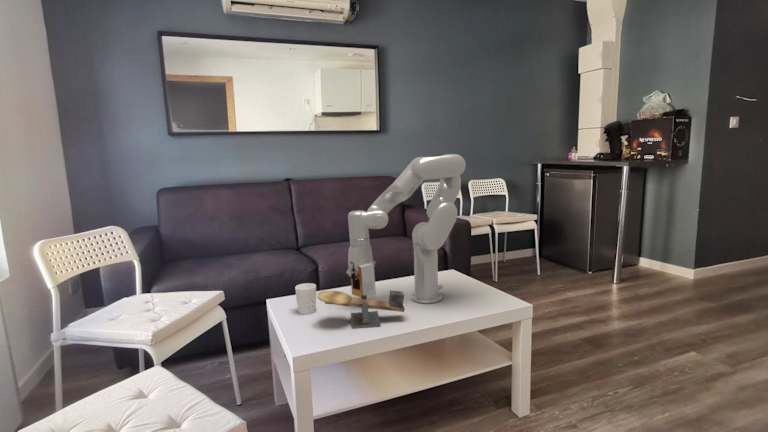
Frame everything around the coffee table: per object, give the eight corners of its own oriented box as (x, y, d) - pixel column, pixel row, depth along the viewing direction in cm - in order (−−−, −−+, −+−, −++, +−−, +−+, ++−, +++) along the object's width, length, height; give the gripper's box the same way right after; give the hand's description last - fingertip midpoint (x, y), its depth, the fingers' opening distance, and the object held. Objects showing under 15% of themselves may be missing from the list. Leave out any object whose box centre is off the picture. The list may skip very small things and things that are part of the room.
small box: (351, 294, 165) (348, 263, 163) (364, 290, 169) (361, 259, 167) (363, 299, 158) (360, 266, 156) (376, 295, 162) (374, 263, 160)
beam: (400, 304, 155) (402, 288, 154) (405, 316, 143) (407, 299, 142) (317, 295, 151) (320, 279, 150) (315, 307, 139) (317, 289, 139)
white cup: (307, 316, 154) (306, 290, 152) (292, 312, 158) (290, 287, 157) (321, 309, 160) (320, 284, 159) (306, 306, 165) (305, 282, 163)
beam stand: (377, 313, 154) (377, 293, 153) (380, 326, 142) (379, 304, 141) (351, 315, 153) (350, 294, 152) (351, 328, 142) (350, 306, 140)
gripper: (367, 237, 169) (370, 278, 172) (336, 246, 156) (340, 291, 159) (381, 238, 164) (384, 281, 167) (351, 248, 151) (354, 294, 154)
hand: (363, 285), depth 163 cm, fingers closed on small box, 7 cm apart
